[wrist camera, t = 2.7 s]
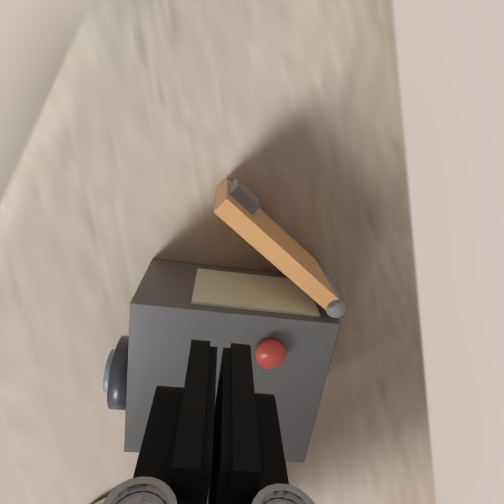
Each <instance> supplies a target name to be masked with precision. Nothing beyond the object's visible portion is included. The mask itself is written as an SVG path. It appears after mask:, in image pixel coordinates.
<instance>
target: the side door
mask: <svg viewBox="0 0 504 504" xmlns="http://www.w3.org/2000/svg"><path fill="white" fill-rule="evenodd" d="M260 207H261V206H260V203H259V200H258V197H257V196H256V195H255V194H254V193H253V192H252V191H251V190H250V189H249V188H248V187H246V186H245V185H244V184H243V183H242V182H241V181H240V180H239V179H238V178H237V177H236V179H235V180H234V181H233V182H231V181H230V180H229V179H228V178H226V179H225V180H224V181H223V182H222V183H221V185H220V186H219V187H218V188H217V191H216V199H215V206H214V213H215V214H216V215H217V216H218V217H219V218H220V219H222V220H223V221H224V222H225V223H226V224H227V225H229V226H230V227H231V228H232V229H233V230H234V231H235V232H237V233H238V234H239V235H240V236H241V237H242V238H243V239H245V240H246V241H247V242H248V243H249V244H250V245H251V246H253V247H254V248H255V249H256V250H257V251H258V252H259V253H261V254H262V255H263V256H264V257H265V258H266V259H267V260H269V261H270V262H271V263H272V264H273V265H274V266H276V267H277V268H278V269H279V270H280V271H281V272H282V273H284V274H285V275H286V276H287V277H288V278H289V279H290V280H292V281H293V282H294V283H295V284H296V285H297V286H298V287H300V288H301V289H302V290H303V291H304V292H305V293H306V294H308V295H309V296H310V297H311V298H312V299H313V300H314V301H316V302H317V303H318V304H319V305H320V306H321V307H323V308H324V309H325V310H326V312H327V314H328V315H329V316H330V317H333V318H339V317H341V316H343V315H344V314H345V313H346V311H347V305H346V303H345V301H344V300H343V298H342V296H341V295H340V293H339V292H338V290H337V288H336V287H335V285H334V283H333V282H332V280H331V278H330V277H329V275H328V273H327V272H326V270H325V269H324V267H323V265H322V264H321V262H320V261H319V260H317V259H315V258H314V257H313V256H311V255H310V254H309V253H308V252H307V251H306V250H305V249H304V248H303V247H302V246H301V245H299V244H298V243H297V242H296V241H295V240H294V239H293V238H292V237H291V236H290V235H289V234H287V233H286V232H285V231H284V230H283V229H282V228H281V227H280V226H279V225H278V224H277V223H276V222H274V221H273V220H272V219H271V218H270V217H269V216H268V215H267V214H266V213H265V212H264V211H262V210H261V209H260Z"/></svg>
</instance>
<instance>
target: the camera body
mask: <svg viewBox="0 0 504 504" xmlns="http://www.w3.org/2000/svg"><path fill="white" fill-rule="evenodd" d="M339 327H340V323H339V321H338V319H337V318H333V317H330V316H329V315H328V314H327V312H326V310H325V309H324V308H323V307H321V306H320V305H319V304H318V303H317V302H316V301H314V300H313V299H312V298H311V297H310V296H309V295H308V294H306V293H305V292H304V291H303V290H302V289H301V288H300V287H298V286H297V285H296V284H295V283H294V282H293V281H292V280H290V279H289V278H288V277H287V276H286V275H285V274H280V273H271V272H262V271H253V270H244V269H235V268H226V267H217V266H208V265H199V264H190V263H182V262H173V261H164V260H155V259H152V261H151V263H150V265H149V267H148V269H147V271H146V273H145V275H144V277H143V279H142V281H141V283H140V285H139V287H138V289H137V291H136V293H135V295H134V297H133V299H132V301H131V303H130V321H129V336H122V337H121V338H120V340H119V342H118V344H117V347H116V349H113V350H111V352H110V354H109V357H108V359H107V363H106V367H105V372H104V379H103V390H104V392H105V393H107V403H108V407H109V409H118V410H126V418H125V443H124V452H140V449H141V445H142V441H143V437H144V433H145V429H146V425H147V421H148V417H149V414H150V410H151V406H152V402H153V398H154V394H155V390H156V387H157V386H170V387H183V388H184V384H185V378H186V372H187V365H188V359H189V352H190V346H191V340H192V339H193V340H204V341H211V342H210V346H213V347H217V369H216V391H215V400H216V393H217V387H218V380H219V373H220V366H221V359H222V352H223V347H224V348H230V346H231V343H237V344H248V345H250V347H251V357H252V368H253V380H254V391H255V393H260V394H273V395H274V396H275V400H276V405H277V412H278V418H279V424H280V431H281V437H282V444H283V450H284V456H285V461H298V462H304V460H305V456H306V452H307V448H308V444H309V441H310V437H311V433H312V429H313V425H314V422H315V418H316V414H317V410H318V406H319V403H320V399H321V395H322V391H323V387H324V384H325V380H326V376H327V372H328V368H329V365H330V361H331V357H332V353H333V349H334V346H335V342H336V338H337V334H338V330H339Z"/></svg>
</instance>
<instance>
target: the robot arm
mask: <svg viewBox="0 0 504 504" xmlns="http://www.w3.org/2000/svg"><path fill="white" fill-rule="evenodd" d="M210 342H211V341H204V340H193V339H192V340H191V346H190V352H189V359H188V365H187V372H186V378H185V384H184V388H183V387H170V386H157V387H156V390H155V394H154V398H153V402H152V406H151V410H150V414H149V417H148V421H147V425H146V429H145V433H144V437H143V441H142V445H141V449H140V453H139V457H138V461H137V465H136V468H135V472H134V476H133V478H132V479H129V480H127V481H125V482H123V483H121V484H119V485H118V486H117V487H116V488H115V489H113V490H112V491H111V492H110V493H109V494H108V496H107V497H105V498H103V499H102V500H100V501H98V502H96V503H94V504H206V503H207V497H208V504H315V503H314V502H313V501H312V500H311V499H310V498H309V496H308V495H307V494H306V493H304V492H303V491H301V490H300V489H298V488H296V487H294V486H291V485H289V482H288V476H287V469H286V463H285V456H284V450H283V444H282V437H281V431H280V424H279V418H278V412H277V405H276V400H275V396H274V395H273V394H260V393H255V391H254V380H253V368H252V357H251V347H250V345H248V344H237V343H231V346H230V348H224V347H223V352H222V359H221V366H220V373H219V380H218V387H217V393H216V400H215V391H216V369H217V347H213V346H210Z"/></svg>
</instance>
